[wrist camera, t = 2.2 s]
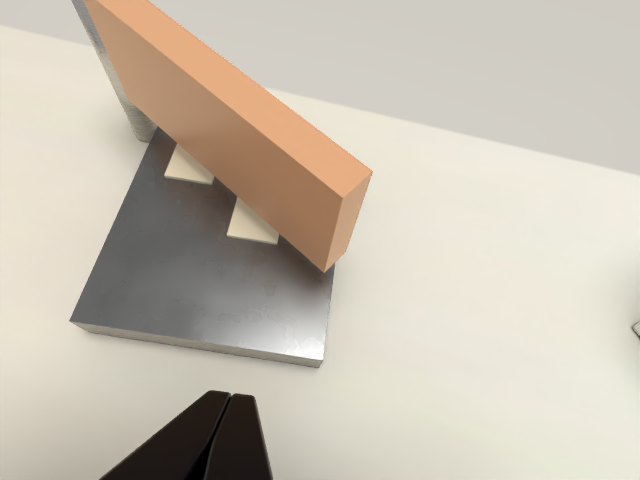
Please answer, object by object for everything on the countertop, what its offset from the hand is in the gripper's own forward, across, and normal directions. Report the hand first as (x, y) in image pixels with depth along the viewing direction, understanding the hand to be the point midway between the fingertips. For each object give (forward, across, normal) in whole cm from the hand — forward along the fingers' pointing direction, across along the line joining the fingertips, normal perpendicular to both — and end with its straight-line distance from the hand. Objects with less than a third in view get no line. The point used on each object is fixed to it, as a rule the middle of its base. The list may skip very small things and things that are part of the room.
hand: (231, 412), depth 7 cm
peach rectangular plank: (+14, +4, -2) cm, 14 cm away
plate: (+16, +5, +1) cm, 16 cm away
